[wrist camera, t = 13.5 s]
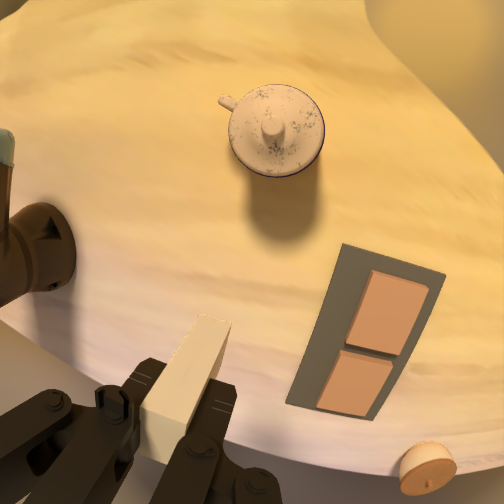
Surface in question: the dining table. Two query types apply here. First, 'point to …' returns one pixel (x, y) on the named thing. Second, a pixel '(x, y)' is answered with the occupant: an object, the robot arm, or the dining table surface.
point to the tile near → (386, 313)
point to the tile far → (353, 383)
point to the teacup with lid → (275, 130)
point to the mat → (339, 320)
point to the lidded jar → (426, 468)
